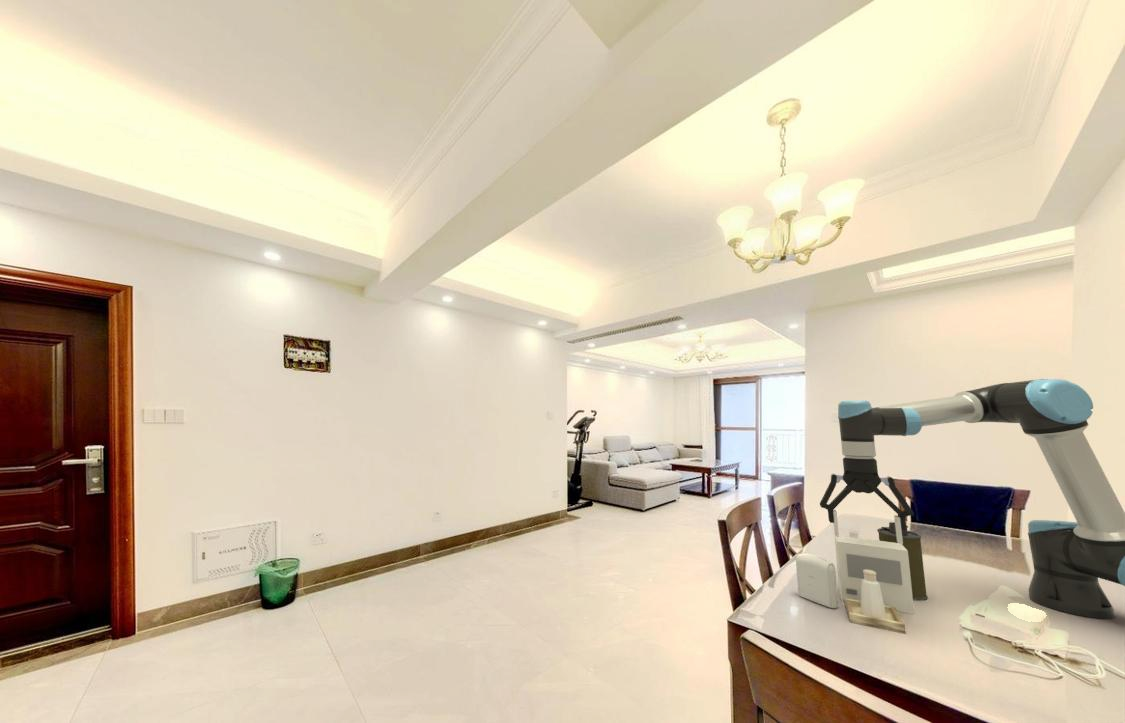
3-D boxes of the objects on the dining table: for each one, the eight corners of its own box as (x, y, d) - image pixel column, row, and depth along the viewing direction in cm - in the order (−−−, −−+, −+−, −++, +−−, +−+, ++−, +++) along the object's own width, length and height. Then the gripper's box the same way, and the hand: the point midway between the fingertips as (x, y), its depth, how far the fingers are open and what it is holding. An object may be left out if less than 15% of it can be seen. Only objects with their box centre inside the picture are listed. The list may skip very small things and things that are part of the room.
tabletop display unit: (906, 602, 116) (900, 543, 118) (914, 615, 108) (908, 551, 110) (838, 590, 123) (834, 534, 126) (842, 601, 116) (837, 541, 118)
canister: (937, 601, 117) (929, 528, 120) (900, 600, 117) (893, 527, 120) (906, 586, 128) (900, 519, 131) (873, 585, 128) (867, 518, 131)
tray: (895, 615, 108) (894, 607, 108) (905, 633, 98) (904, 624, 98) (845, 605, 113) (844, 598, 113) (850, 622, 103) (849, 613, 104)
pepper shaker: (886, 623, 102) (881, 576, 103) (859, 616, 105) (855, 570, 107) (887, 616, 106) (883, 570, 107) (862, 609, 109) (858, 565, 111)
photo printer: (795, 595, 119) (792, 550, 121) (805, 593, 121) (802, 549, 123) (831, 610, 110) (828, 561, 112) (841, 607, 112) (837, 559, 114)
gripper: (914, 458, 109) (924, 542, 106) (805, 454, 121) (812, 529, 118) (922, 460, 102) (933, 550, 99) (806, 456, 114) (813, 536, 111)
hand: (867, 539), depth 108 cm, fingers open, 13 cm apart
